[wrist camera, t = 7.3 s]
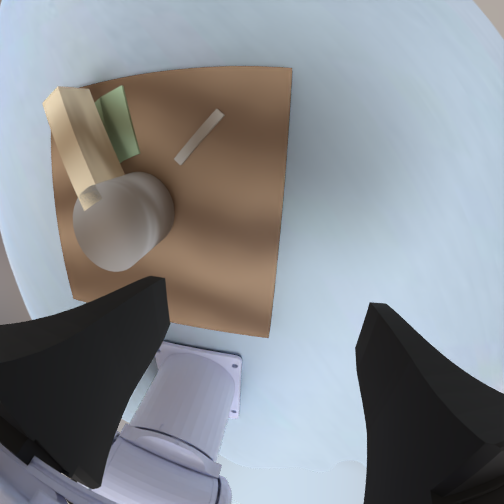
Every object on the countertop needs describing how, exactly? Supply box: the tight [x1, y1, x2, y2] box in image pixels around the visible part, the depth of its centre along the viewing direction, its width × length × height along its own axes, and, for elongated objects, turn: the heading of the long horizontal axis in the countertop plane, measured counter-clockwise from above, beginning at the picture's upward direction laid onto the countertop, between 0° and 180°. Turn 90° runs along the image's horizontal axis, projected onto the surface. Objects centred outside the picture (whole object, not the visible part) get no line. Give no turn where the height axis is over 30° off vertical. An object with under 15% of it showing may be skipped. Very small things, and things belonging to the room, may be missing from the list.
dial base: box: [51, 66, 292, 338], centre depth 18 cm, size 18×18×1 cm
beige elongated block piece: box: [43, 86, 174, 272], centre depth 15 cm, size 12×5×4 cm, turn 25°
